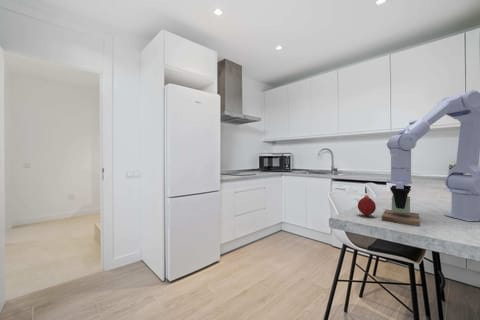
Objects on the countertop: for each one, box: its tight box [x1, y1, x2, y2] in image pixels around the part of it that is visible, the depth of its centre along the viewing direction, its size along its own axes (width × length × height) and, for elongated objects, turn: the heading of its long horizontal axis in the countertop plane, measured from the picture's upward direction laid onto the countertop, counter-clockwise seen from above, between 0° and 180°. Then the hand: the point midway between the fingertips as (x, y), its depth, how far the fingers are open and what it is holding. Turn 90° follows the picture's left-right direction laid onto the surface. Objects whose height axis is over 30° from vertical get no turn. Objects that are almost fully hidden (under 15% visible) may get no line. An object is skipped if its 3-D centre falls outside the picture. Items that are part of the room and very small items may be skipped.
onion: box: [357, 194, 377, 217], centre depth 80 cm, size 6×6×8 cm
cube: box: [391, 195, 411, 214], centre depth 76 cm, size 5×5×5 cm
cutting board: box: [381, 209, 420, 227], centre depth 76 cm, size 12×10×2 cm
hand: (400, 206), depth 76 cm, fingers closed on cube, 5 cm apart
